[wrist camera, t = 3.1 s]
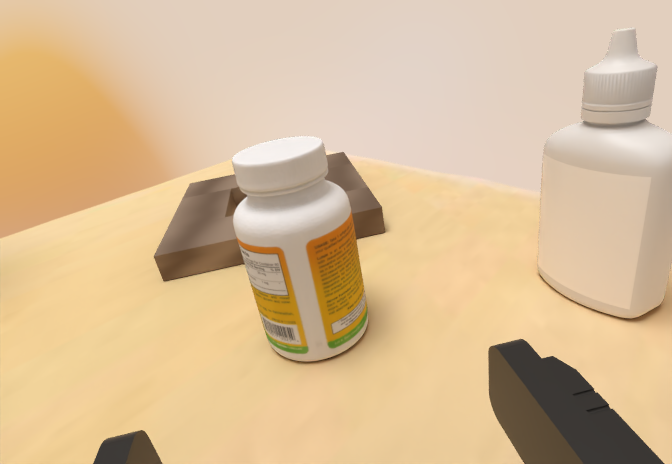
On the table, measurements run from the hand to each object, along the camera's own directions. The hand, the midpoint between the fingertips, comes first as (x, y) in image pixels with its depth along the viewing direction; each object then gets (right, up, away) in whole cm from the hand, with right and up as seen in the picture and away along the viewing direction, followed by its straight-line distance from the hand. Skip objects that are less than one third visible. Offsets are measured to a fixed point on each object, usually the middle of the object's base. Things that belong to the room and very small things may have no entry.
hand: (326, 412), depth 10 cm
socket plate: (-5, +6, +28) cm, 29 cm away
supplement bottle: (-1, -1, +13) cm, 13 cm away
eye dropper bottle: (+13, +1, +12) cm, 18 cm away
